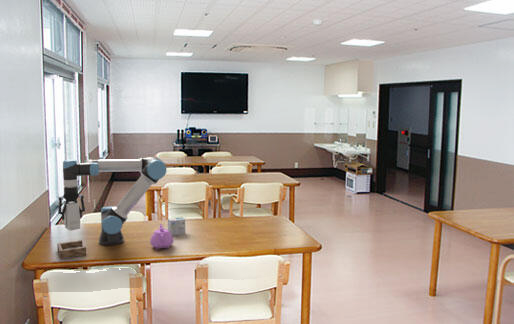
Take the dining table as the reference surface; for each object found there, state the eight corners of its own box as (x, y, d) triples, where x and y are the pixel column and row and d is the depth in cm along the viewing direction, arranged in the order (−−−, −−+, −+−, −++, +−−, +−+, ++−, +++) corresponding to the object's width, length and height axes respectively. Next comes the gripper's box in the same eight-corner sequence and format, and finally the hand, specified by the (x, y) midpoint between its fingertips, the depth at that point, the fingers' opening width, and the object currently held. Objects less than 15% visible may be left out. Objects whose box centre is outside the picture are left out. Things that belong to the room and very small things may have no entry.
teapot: (150, 241, 277) (150, 223, 276) (172, 240, 281) (172, 222, 279) (150, 252, 258) (150, 233, 256) (174, 251, 262) (174, 231, 260)
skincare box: (80, 229, 253) (79, 203, 251) (68, 231, 248) (68, 204, 246) (75, 225, 259) (74, 200, 257) (64, 227, 255) (63, 202, 252)
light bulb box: (182, 231, 301) (181, 216, 299) (185, 234, 295) (185, 218, 294) (167, 233, 295) (167, 218, 294) (171, 236, 290) (170, 220, 288)
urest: (82, 246, 265) (81, 239, 265) (86, 254, 252) (86, 247, 252) (57, 250, 258) (57, 243, 257) (60, 258, 245) (60, 251, 245)
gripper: (87, 183, 258) (89, 220, 262) (51, 186, 248) (53, 224, 251) (89, 185, 252) (91, 223, 255) (52, 188, 242) (54, 228, 245)
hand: (72, 224), depth 253 cm, fingers closed on skincare box, 7 cm apart
